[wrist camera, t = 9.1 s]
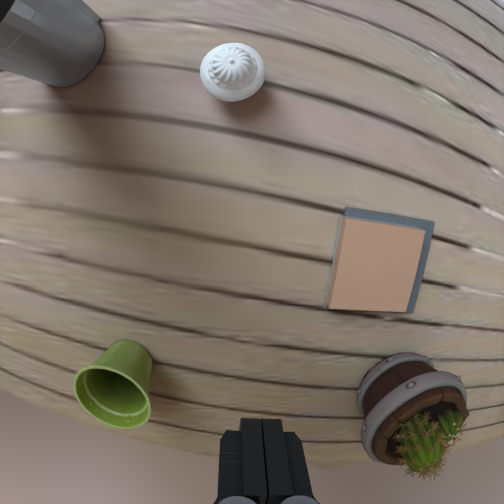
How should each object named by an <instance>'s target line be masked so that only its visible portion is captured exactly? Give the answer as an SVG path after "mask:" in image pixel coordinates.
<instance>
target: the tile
mask: <svg viewBox="0 0 504 504" xmlns="http://www.w3.org/2000/svg"><path fill="white" fill-rule="evenodd" d="M424 235H425V230H422V229H420V228H418V227H413V226H406V225H400V224H394V223H388V222H381V221H374V220H368V219H361V218H354V217H347V216H340V223H339V229H338V235H337V241H336V247H335V252H334V258H333V264H332V269H331V274H330V279H329V285H328V290H327V295H326V299H325V302H326V303H327V305H328V307H329V308H331V309H348V310H368V311H392V312H406V309H407V306H408V302H409V298H410V295H411V291H412V287H413V283H414V280H415V276H416V271H417V267H418V263H419V259H420V254H421V250H422V245H423V240H424Z"/></svg>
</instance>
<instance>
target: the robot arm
mask: <svg viewBox="0 0 504 504" xmlns="http://www.w3.org/2000/svg"><path fill="white" fill-rule="evenodd" d="M99 21H100V17H99V16H98V15H97V14H96V13H95V12H94V11H93V10H92V9H91V8H90V7H89V6H88V5H87V4H85V3H84V2H83V1H82V0H0V69H2V70H5V71H8V72H12V73H15V74H18V75H21V76H24V77H27V78H30V79H34V80H37V81H40V82H42V83H44V84H47V85H51V86H55V87H67V86H71V85H73V84H75V83H77V82H79V81H80V80H82V79H83V78H85V77H86V76H87V75H88V74H89V73H90V72H91V71H92V70H93V68H94V67H95V66H96V64H97V62H98V61H99V59H100V57H101V54H102V52H103V48H104V34H103V30H102V29H101V27H100V25H99ZM305 461H306V460H305V456H304V451H303V446H302V442H301V440H300V439H299V438H298V436H297V435H296V434H295V432H283V427H282V421H281V419H261V420H260V419H254V418H241V420H240V428H239V431H231V430H226V432H225V433H224V435H223V437H222V438H221V440H220V454H219V475H218V476H219V477H218V497H217V499H216V501H215V502H214V503H213V504H320V503H319V502H317V500H316V499H315V498H314V496H313V493H312V489H311V484H310V479H309V475H308V470H307V465H306V463H305Z"/></svg>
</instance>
